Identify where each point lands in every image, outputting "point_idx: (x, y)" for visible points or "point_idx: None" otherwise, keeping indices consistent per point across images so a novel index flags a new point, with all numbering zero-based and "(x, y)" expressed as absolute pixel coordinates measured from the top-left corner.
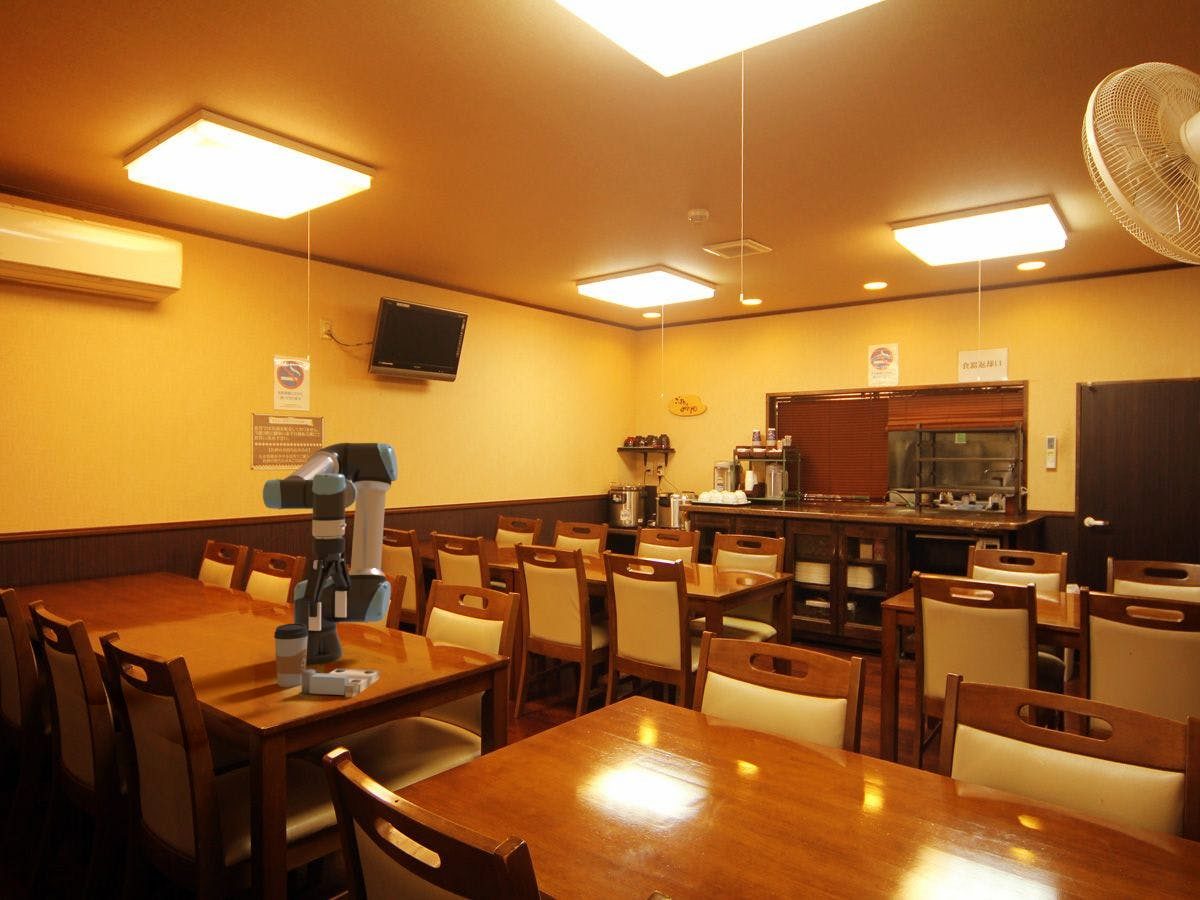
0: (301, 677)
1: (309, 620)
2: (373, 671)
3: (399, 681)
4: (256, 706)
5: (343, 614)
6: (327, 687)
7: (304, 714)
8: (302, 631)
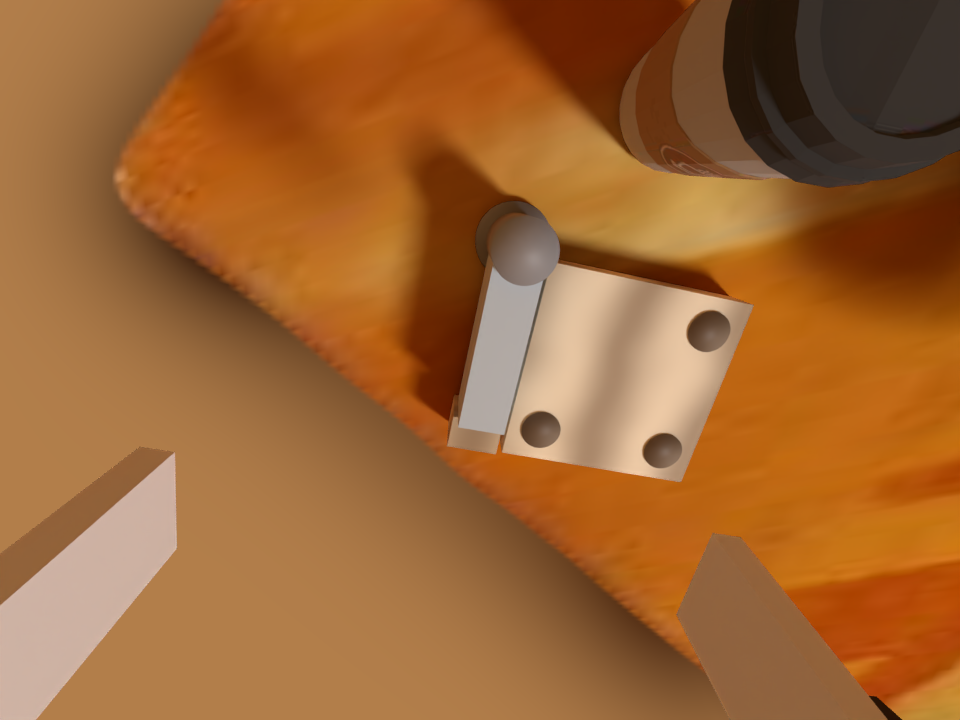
0: (658, 167)
1: (51, 524)
2: (664, 465)
3: (634, 524)
4: (363, 45)
5: (694, 626)
6: (473, 338)
7: (276, 295)
8: (818, 151)
